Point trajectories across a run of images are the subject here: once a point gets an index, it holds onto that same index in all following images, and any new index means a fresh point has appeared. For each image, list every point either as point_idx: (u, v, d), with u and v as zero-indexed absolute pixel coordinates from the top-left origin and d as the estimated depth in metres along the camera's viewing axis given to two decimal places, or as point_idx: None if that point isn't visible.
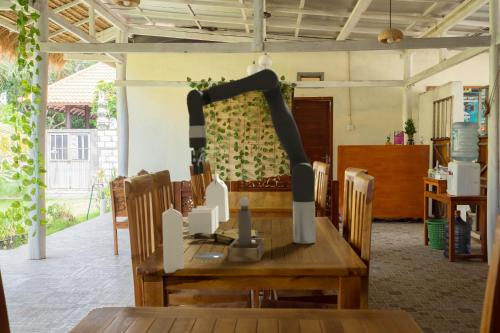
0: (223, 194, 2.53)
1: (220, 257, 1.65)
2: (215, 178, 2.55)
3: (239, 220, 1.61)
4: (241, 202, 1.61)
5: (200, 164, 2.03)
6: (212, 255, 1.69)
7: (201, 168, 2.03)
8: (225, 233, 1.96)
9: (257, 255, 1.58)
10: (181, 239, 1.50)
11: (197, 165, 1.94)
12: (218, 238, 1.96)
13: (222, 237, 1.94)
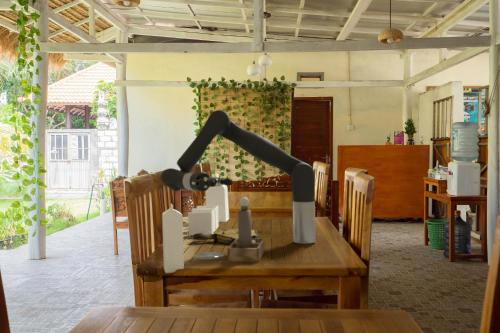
0: (223, 194, 2.53)
1: (220, 257, 1.65)
2: None
3: (239, 220, 1.61)
4: (241, 202, 1.61)
5: (224, 182, 1.76)
6: (212, 255, 1.69)
7: (226, 181, 1.75)
8: (225, 233, 1.96)
9: (257, 255, 1.58)
10: (181, 239, 1.50)
11: (205, 181, 1.70)
12: (218, 238, 1.95)
13: (223, 237, 1.94)
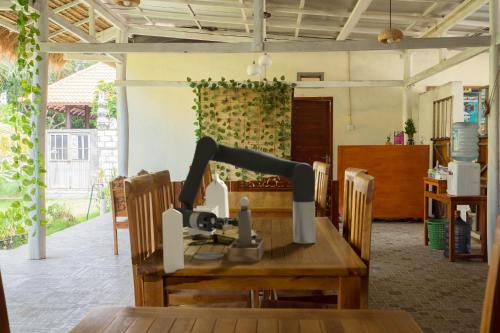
0: (223, 194, 2.53)
1: (220, 257, 1.65)
2: (215, 178, 2.55)
3: (239, 220, 1.61)
4: (241, 202, 1.61)
5: (231, 223, 1.74)
6: (212, 255, 1.69)
7: (234, 222, 1.73)
8: (225, 233, 1.96)
9: (257, 255, 1.58)
10: (181, 239, 1.50)
11: (213, 223, 1.68)
12: (219, 239, 1.95)
13: (223, 237, 1.94)
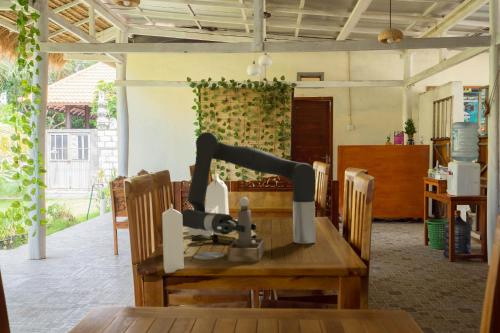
0: (223, 194, 2.53)
1: (220, 257, 1.65)
2: (215, 178, 2.55)
3: (239, 220, 1.61)
4: (241, 202, 1.61)
5: None
6: (212, 255, 1.69)
7: None
8: (226, 234, 1.95)
9: (257, 255, 1.58)
10: (181, 239, 1.50)
11: (235, 225, 1.61)
12: (219, 239, 1.94)
13: (224, 238, 1.93)
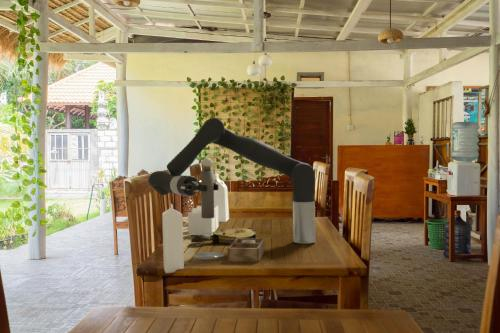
0: (223, 194, 2.53)
1: (220, 257, 1.65)
2: (215, 178, 2.55)
3: (202, 180, 1.66)
4: (204, 162, 1.66)
5: None
6: (212, 255, 1.69)
7: None
8: (226, 233, 1.95)
9: (257, 255, 1.58)
10: (181, 239, 1.50)
11: (197, 185, 1.66)
12: (220, 239, 1.93)
13: (225, 238, 1.93)
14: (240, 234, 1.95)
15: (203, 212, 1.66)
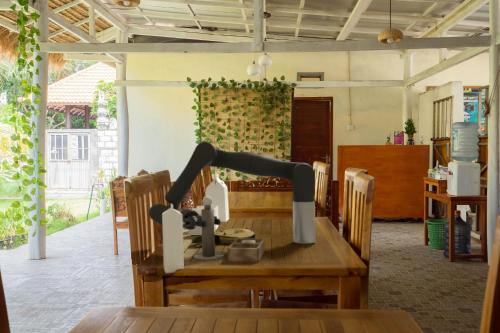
0: (223, 194, 2.53)
1: (220, 257, 1.65)
2: (215, 178, 2.55)
3: (202, 219, 1.67)
4: (204, 201, 1.66)
5: None
6: None
7: (214, 220, 1.70)
8: (227, 234, 1.95)
9: (257, 255, 1.58)
10: (181, 239, 1.50)
11: (196, 221, 1.66)
12: (221, 239, 1.93)
13: (226, 238, 1.92)
14: (241, 234, 1.95)
15: (204, 251, 1.67)
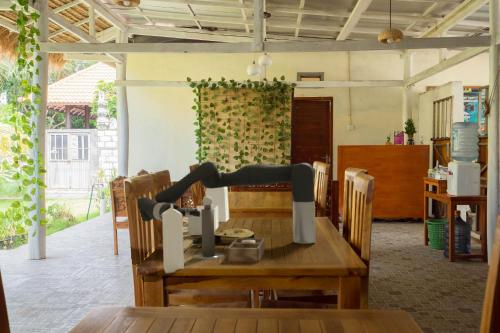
0: (223, 194, 2.53)
1: (220, 257, 1.65)
2: None
3: (202, 219, 1.67)
4: (204, 201, 1.66)
5: (192, 213, 1.82)
6: None
7: (194, 212, 1.80)
8: (227, 234, 1.94)
9: (257, 255, 1.58)
10: (181, 239, 1.50)
11: None
12: (222, 240, 1.92)
13: (227, 238, 1.92)
14: (241, 234, 1.96)
15: (204, 251, 1.67)
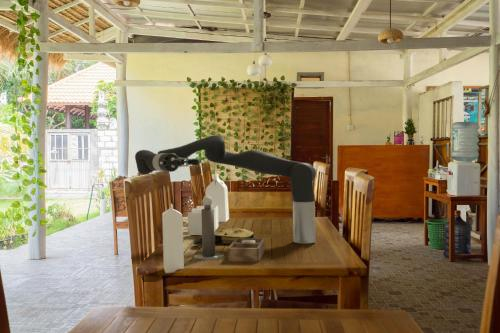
0: (223, 194, 2.53)
1: (220, 257, 1.65)
2: (215, 178, 2.55)
3: (202, 219, 1.67)
4: (204, 201, 1.66)
5: (191, 162, 1.82)
6: None
7: (194, 161, 1.81)
8: (228, 234, 1.94)
9: (257, 255, 1.58)
10: (181, 239, 1.50)
11: (172, 160, 1.76)
12: (223, 240, 1.92)
13: (228, 238, 1.92)
14: (241, 234, 1.96)
15: (204, 251, 1.67)
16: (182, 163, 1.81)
